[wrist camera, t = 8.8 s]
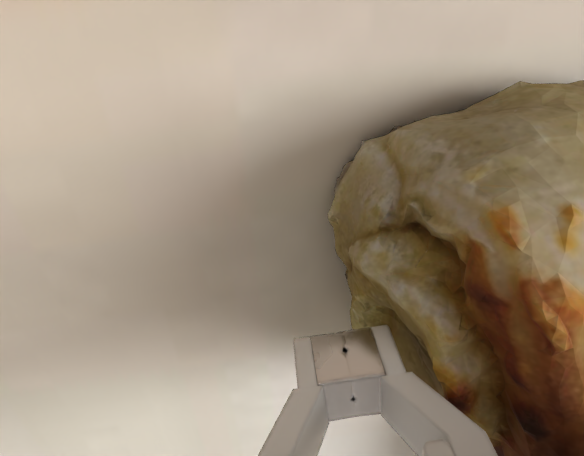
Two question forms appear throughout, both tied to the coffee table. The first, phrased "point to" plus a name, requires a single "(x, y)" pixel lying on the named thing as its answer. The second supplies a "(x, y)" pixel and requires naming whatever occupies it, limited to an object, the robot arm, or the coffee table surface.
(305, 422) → the robot arm
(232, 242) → the coffee table surface
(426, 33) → the coffee table surface
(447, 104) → the coffee table surface
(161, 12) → the coffee table surface
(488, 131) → the pastry
